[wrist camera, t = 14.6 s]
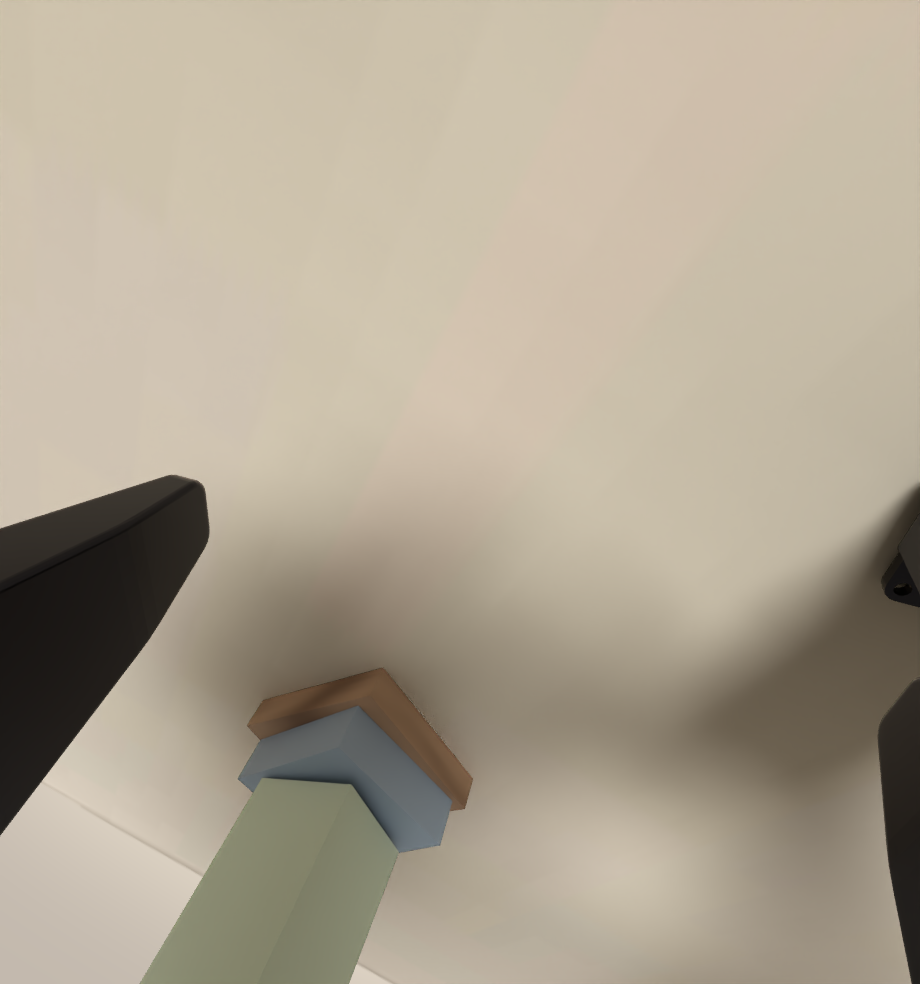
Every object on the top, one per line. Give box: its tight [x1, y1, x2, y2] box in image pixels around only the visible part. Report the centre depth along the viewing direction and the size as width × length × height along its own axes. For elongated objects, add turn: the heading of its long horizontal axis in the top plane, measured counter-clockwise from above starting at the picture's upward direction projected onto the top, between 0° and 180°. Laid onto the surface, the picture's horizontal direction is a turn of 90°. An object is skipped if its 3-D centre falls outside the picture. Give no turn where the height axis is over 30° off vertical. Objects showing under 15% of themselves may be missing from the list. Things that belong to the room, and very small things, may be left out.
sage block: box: [140, 778, 399, 984], centre depth 26 cm, size 5×5×11 cm
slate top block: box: [238, 706, 452, 853], centre depth 31 cm, size 7×7×2 cm
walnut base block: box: [247, 668, 473, 811], centre depth 33 cm, size 8×8×2 cm
